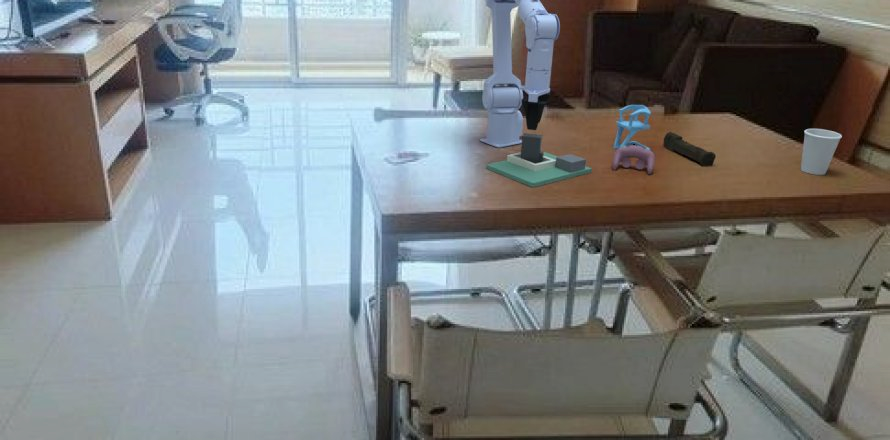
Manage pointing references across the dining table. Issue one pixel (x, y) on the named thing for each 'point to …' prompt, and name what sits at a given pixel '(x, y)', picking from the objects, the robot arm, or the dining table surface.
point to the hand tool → (688, 149)
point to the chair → (631, 125)
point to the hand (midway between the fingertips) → (533, 125)
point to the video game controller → (633, 151)
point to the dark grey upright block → (531, 148)
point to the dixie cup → (818, 150)
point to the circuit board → (540, 168)
